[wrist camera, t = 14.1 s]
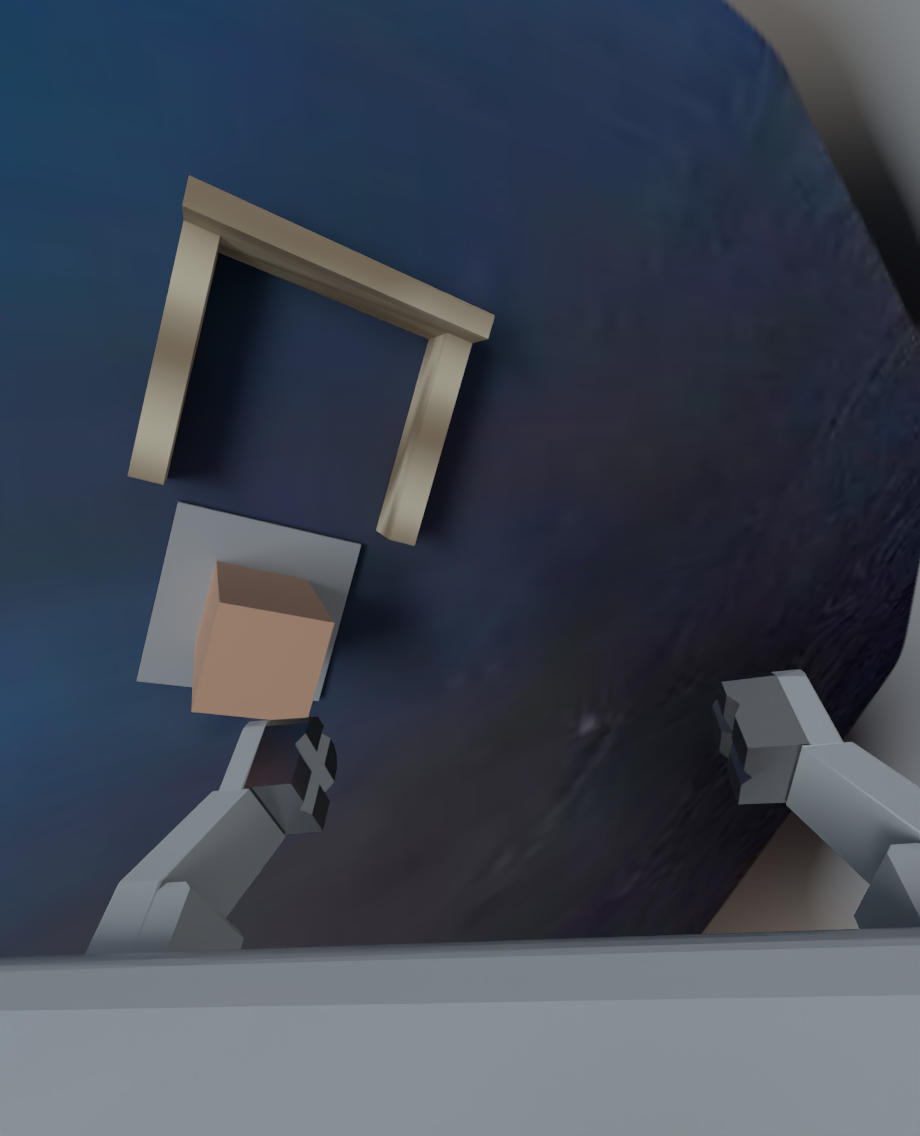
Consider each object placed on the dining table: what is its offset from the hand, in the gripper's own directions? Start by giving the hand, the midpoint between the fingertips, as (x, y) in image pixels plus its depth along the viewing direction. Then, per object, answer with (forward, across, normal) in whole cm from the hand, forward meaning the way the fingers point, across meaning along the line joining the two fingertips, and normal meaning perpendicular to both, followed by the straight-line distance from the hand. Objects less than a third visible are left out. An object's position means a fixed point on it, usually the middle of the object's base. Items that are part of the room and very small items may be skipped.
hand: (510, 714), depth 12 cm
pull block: (+16, +16, +10) cm, 25 cm away
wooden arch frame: (+23, +11, +1) cm, 25 cm away
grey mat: (+17, +16, +10) cm, 25 cm away
